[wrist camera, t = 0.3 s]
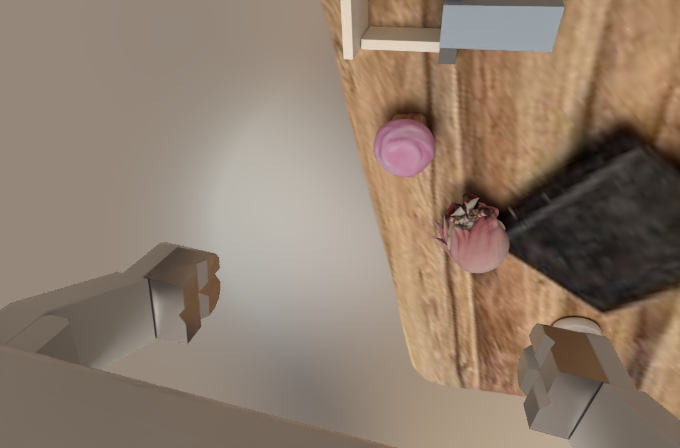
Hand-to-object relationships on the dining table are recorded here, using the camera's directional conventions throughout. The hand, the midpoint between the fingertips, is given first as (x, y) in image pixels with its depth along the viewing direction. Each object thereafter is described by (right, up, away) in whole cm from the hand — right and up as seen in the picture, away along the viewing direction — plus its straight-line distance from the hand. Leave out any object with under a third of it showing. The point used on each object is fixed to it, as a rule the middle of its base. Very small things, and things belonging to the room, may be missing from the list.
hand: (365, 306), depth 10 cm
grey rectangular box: (+19, +29, +39) cm, 52 cm away
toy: (+22, +4, +62) cm, 66 cm away
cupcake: (+10, +18, +53) cm, 57 cm away
